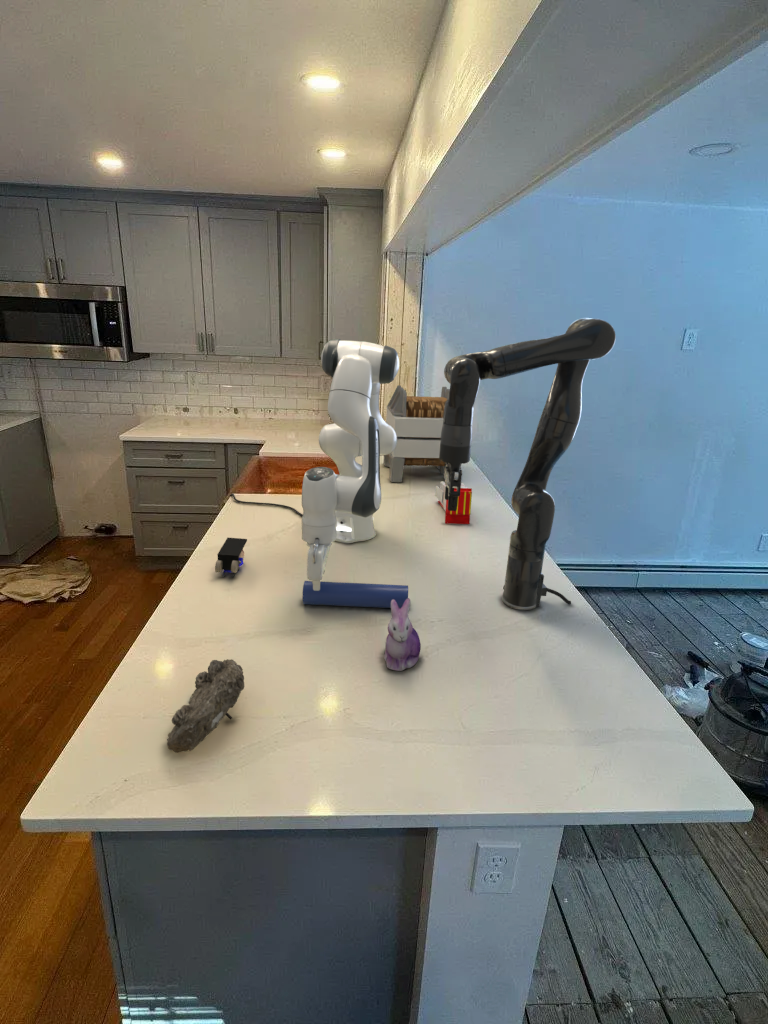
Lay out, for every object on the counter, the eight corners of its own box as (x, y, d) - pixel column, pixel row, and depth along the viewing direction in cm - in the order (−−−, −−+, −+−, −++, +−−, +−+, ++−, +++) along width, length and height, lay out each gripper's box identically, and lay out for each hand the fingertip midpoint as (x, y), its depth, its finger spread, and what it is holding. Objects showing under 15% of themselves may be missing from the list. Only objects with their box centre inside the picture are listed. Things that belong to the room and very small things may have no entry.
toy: (463, 477, 236) (476, 489, 206) (461, 509, 239) (474, 525, 209) (433, 476, 235) (443, 488, 206) (432, 508, 238) (441, 524, 209)
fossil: (192, 660, 117) (244, 628, 112) (224, 691, 120) (276, 661, 115) (142, 746, 98) (202, 712, 93) (182, 779, 101) (242, 748, 96)
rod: (302, 608, 148) (302, 587, 146) (305, 597, 154) (305, 576, 152) (407, 613, 148) (408, 592, 146) (406, 601, 154) (408, 581, 152)
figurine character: (238, 584, 162) (249, 557, 175) (236, 562, 158) (247, 536, 172) (215, 584, 161) (227, 556, 175) (212, 561, 158) (225, 535, 171)
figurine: (394, 677, 122) (397, 616, 117) (372, 652, 130) (375, 594, 125) (431, 667, 126) (436, 607, 121) (408, 643, 134) (412, 587, 129)
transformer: (382, 463, 289) (386, 382, 275) (445, 464, 293) (451, 384, 279) (390, 482, 257) (394, 392, 243) (460, 483, 261) (468, 394, 247)
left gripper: (327, 547, 134) (326, 600, 138) (335, 519, 153) (334, 565, 158) (300, 546, 134) (301, 599, 138) (311, 518, 153) (311, 565, 158)
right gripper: (475, 449, 131) (468, 515, 137) (467, 436, 144) (462, 496, 150) (442, 447, 131) (437, 513, 137) (438, 435, 144) (433, 495, 150)
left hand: (319, 581), depth 148 cm, fingers open, 8 cm apart
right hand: (450, 504), depth 143 cm, fingers open, 8 cm apart
